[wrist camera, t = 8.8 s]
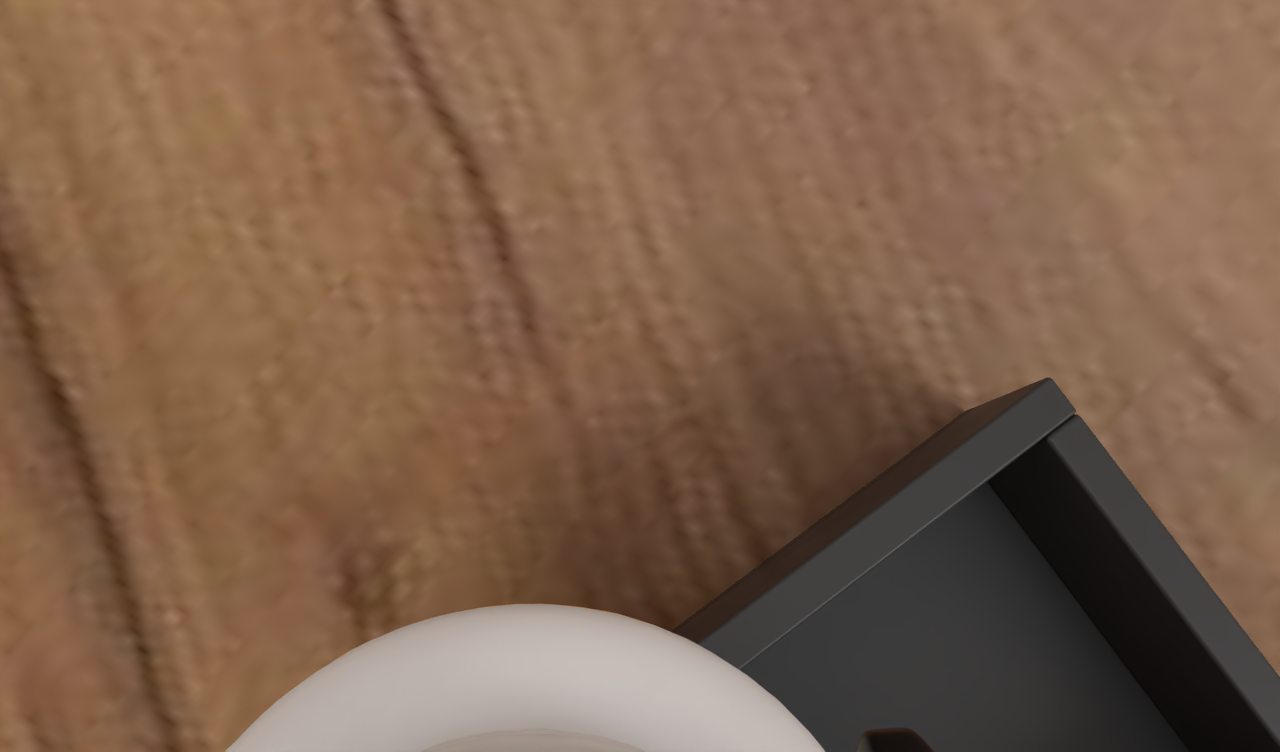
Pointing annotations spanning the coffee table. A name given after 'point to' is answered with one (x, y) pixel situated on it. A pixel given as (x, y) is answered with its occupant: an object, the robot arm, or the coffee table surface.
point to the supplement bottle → (528, 691)
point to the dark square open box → (998, 606)
